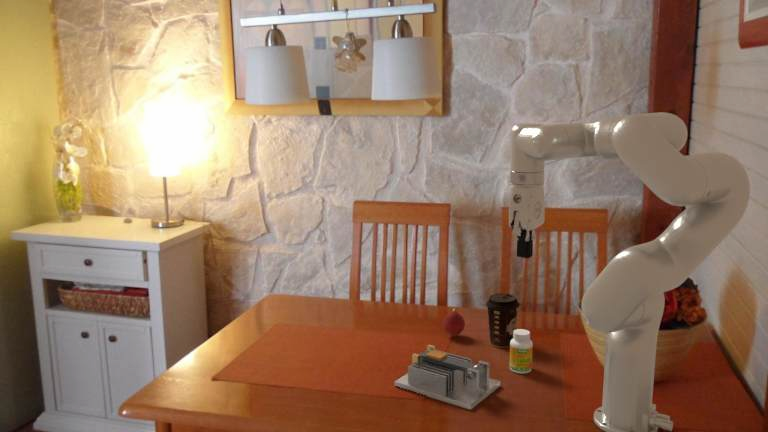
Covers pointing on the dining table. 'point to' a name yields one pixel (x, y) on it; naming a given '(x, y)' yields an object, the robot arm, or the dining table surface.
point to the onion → (454, 323)
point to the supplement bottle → (521, 352)
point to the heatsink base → (448, 381)
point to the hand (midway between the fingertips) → (524, 256)
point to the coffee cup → (502, 319)
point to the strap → (451, 361)
